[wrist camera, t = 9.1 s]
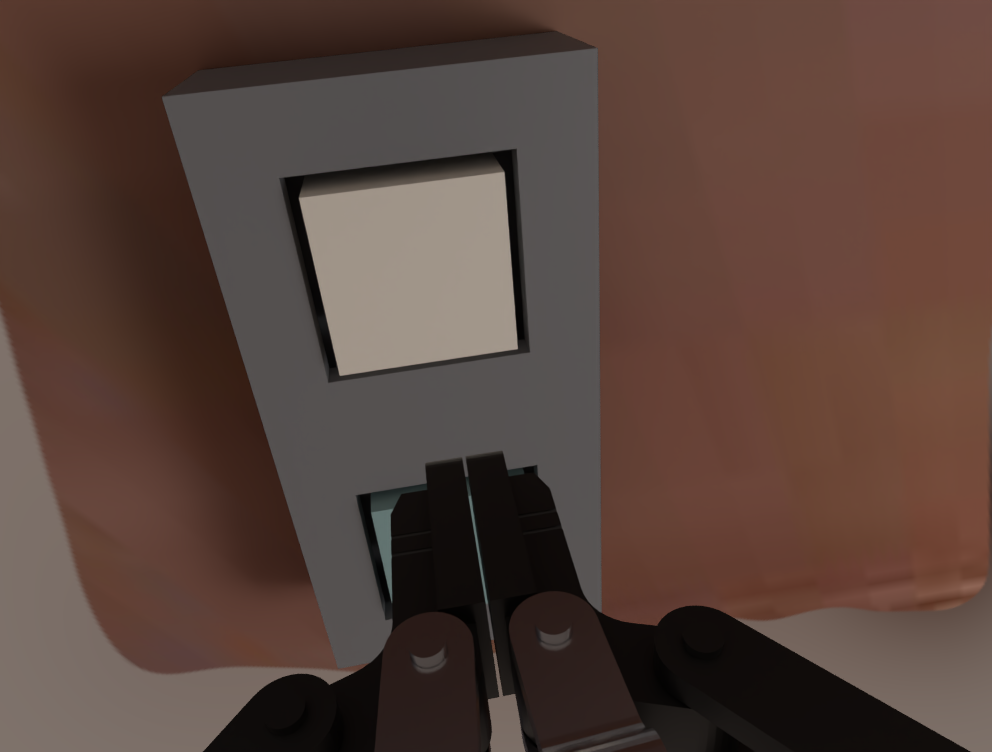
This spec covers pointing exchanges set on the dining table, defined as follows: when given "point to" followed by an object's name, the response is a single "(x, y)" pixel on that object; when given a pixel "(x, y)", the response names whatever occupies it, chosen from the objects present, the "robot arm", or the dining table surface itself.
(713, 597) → the dining table surface
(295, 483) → the key box
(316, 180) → the cream key
